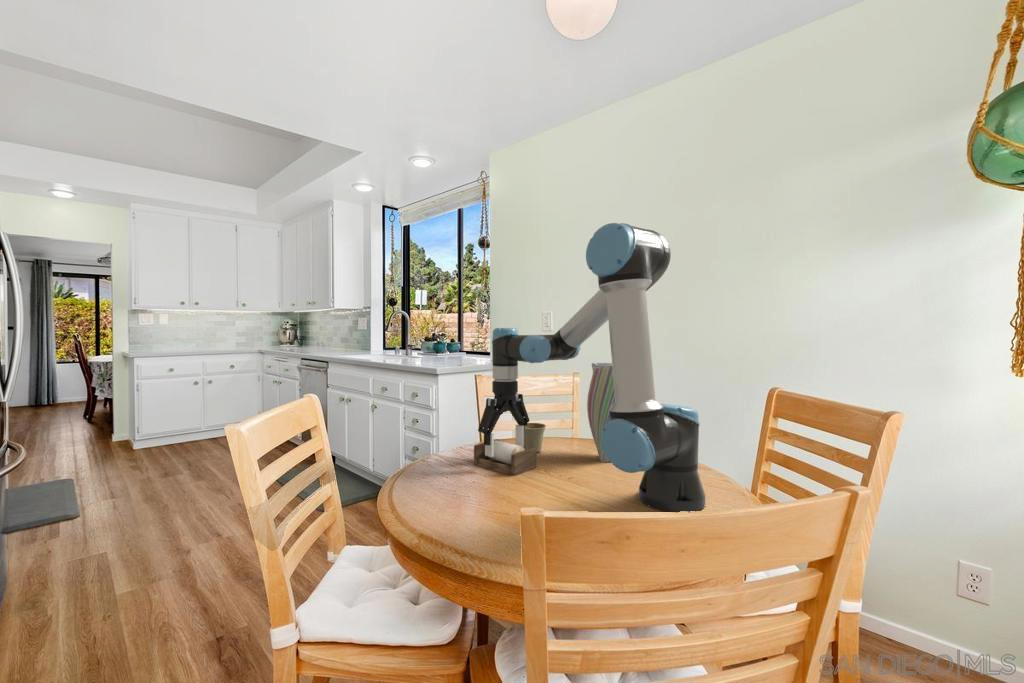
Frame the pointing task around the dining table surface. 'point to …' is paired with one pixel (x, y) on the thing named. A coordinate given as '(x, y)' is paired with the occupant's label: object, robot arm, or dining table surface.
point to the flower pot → (533, 436)
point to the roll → (504, 451)
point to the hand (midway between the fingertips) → (505, 451)
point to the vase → (600, 402)
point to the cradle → (518, 464)
